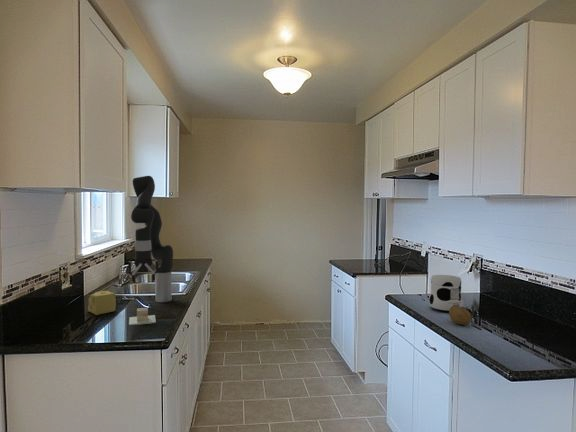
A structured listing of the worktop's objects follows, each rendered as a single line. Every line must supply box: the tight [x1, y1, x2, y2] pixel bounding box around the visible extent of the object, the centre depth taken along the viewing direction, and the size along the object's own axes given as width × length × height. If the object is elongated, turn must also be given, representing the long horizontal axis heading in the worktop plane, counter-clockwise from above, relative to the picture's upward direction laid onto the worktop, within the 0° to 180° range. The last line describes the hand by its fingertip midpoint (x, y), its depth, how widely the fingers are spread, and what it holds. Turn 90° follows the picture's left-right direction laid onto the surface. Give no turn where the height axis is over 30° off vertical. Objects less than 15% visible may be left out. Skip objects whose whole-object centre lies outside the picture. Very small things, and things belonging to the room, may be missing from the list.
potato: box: [448, 306, 473, 326], centre depth 190 cm, size 10×14×8 cm
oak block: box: [136, 307, 149, 321], centre depth 193 cm, size 5×5×5 cm
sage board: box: [128, 314, 157, 326], centre depth 194 cm, size 12×12×1 cm
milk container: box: [428, 274, 464, 313], centre depth 216 cm, size 17×17×18 cm
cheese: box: [87, 290, 117, 316], centre depth 210 cm, size 10×11×10 cm
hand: (143, 282), depth 194 cm, fingers open, 8 cm apart
